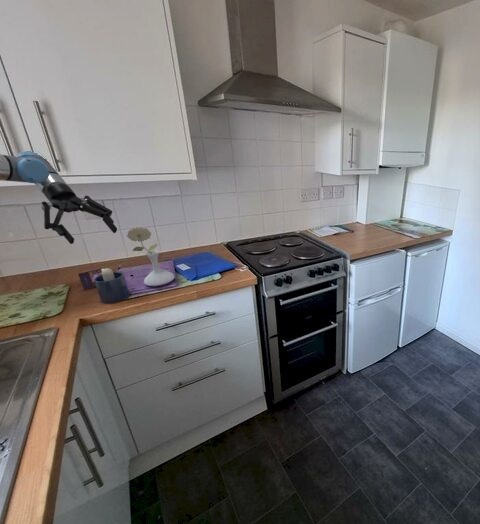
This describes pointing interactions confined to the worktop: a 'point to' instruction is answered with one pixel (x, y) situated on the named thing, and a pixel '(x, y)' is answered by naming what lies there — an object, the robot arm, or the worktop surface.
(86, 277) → the purple printed box
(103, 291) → the cup
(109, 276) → the game piece
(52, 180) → the robot arm
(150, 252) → the flower in vase
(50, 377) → the worktop surface
